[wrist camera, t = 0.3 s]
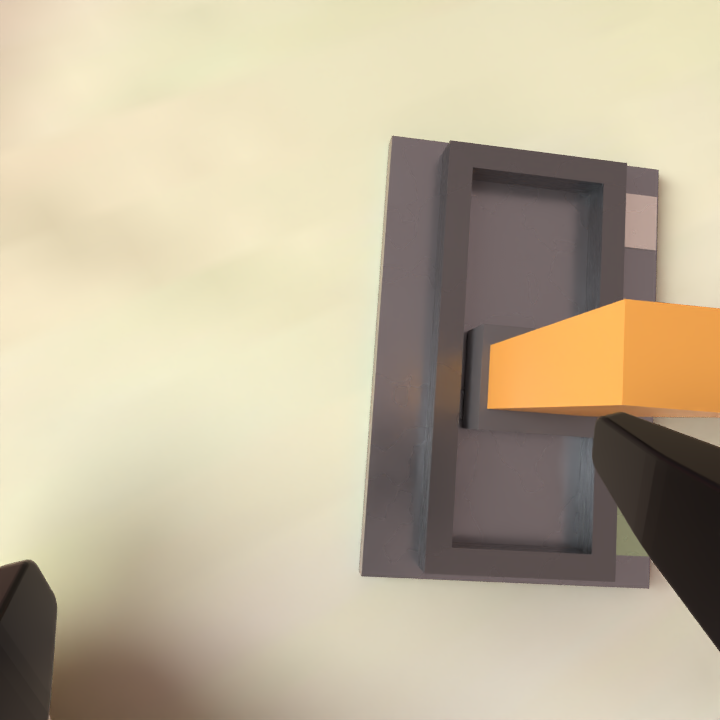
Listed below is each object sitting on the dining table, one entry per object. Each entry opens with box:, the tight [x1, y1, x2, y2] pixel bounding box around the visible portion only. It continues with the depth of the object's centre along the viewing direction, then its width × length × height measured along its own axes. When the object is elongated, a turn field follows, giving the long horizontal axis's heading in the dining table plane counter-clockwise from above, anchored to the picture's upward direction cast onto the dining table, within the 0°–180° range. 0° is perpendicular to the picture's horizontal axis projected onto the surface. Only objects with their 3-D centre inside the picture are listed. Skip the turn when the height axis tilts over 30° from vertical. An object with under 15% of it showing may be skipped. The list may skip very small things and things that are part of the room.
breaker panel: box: [359, 136, 658, 588], centre depth 24 cm, size 18×12×2 cm, turn 176°
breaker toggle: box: [463, 299, 720, 438], centre depth 19 cm, size 4×5×11 cm
